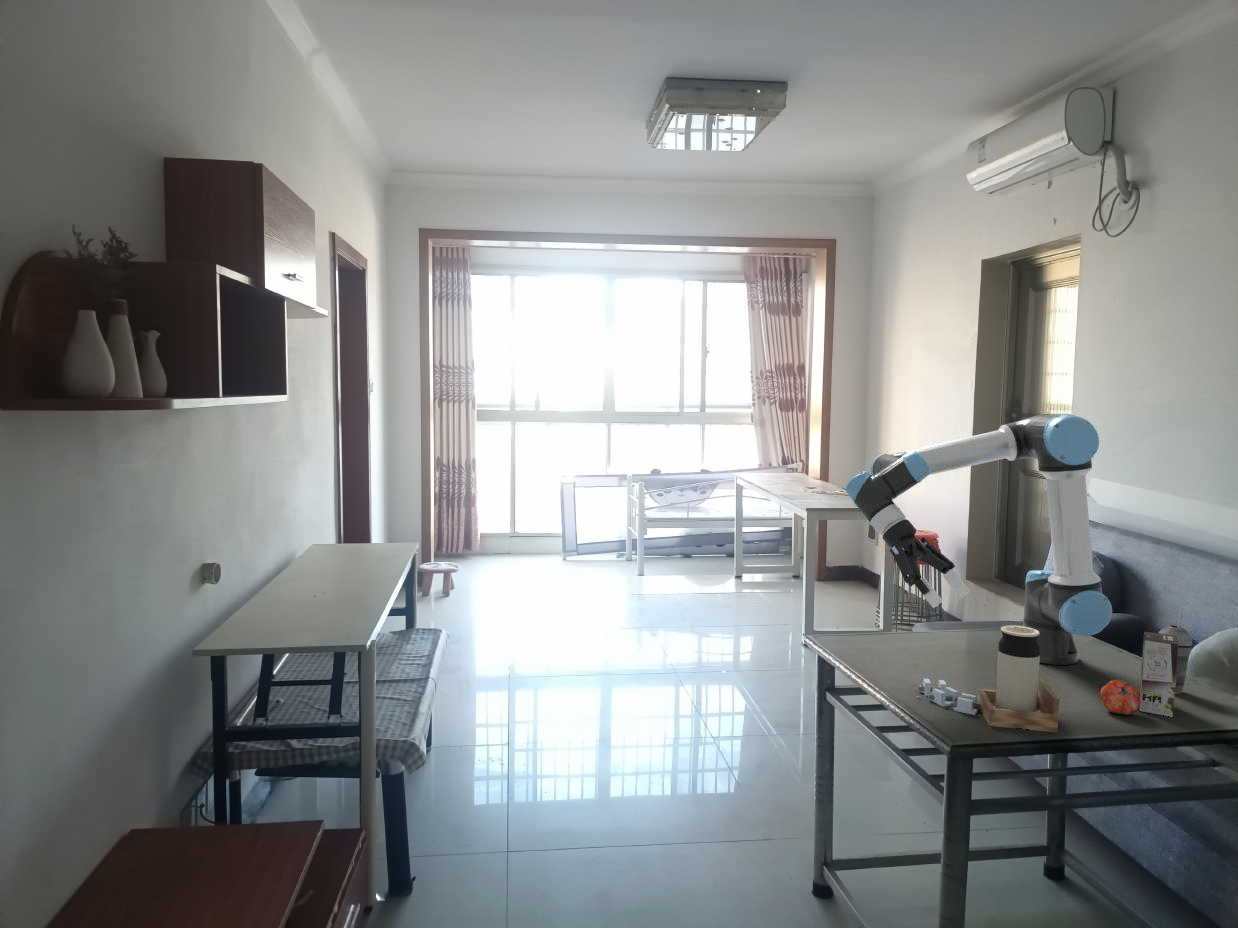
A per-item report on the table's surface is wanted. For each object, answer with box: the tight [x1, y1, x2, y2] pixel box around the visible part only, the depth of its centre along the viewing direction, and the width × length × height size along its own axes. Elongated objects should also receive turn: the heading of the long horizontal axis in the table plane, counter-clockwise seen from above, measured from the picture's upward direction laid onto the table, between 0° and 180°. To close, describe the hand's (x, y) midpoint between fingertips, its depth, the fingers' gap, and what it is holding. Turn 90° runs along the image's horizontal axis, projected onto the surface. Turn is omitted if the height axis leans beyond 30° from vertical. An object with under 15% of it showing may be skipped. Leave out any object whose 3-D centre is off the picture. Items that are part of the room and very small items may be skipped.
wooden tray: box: [976, 678, 1060, 734], centre depth 179 cm, size 13×13×7 cm
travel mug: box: [995, 624, 1040, 712], centre depth 179 cm, size 8×8×18 cm
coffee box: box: [1139, 631, 1179, 718], centre depth 186 cm, size 9×6×16 cm
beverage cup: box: [1158, 607, 1194, 695], centre depth 198 cm, size 7×7×20 cm
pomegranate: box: [1100, 679, 1140, 716], centre depth 184 cm, size 7×7×10 cm
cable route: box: [917, 678, 981, 716], centre depth 188 cm, size 12×14×3 cm
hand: (952, 599), depth 195 cm, fingers open, 13 cm apart
